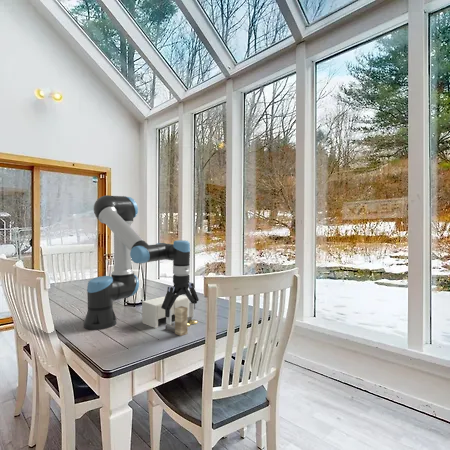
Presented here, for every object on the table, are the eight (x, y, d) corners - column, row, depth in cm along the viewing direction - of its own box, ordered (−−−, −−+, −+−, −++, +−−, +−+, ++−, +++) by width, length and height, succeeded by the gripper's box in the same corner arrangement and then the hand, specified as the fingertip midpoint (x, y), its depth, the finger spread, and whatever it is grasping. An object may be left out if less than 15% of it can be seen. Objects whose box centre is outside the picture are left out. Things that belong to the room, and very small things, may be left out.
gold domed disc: (193, 325, 159) (193, 323, 159) (187, 323, 161) (187, 321, 161) (199, 323, 162) (199, 320, 162) (192, 321, 165) (192, 319, 165)
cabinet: (155, 328, 154) (155, 305, 153) (142, 323, 161) (142, 301, 161) (189, 317, 170) (189, 297, 170) (176, 313, 178) (176, 293, 177)
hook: (180, 336, 144) (180, 309, 143) (163, 329, 152) (163, 304, 151) (207, 326, 157) (207, 302, 156) (190, 320, 165) (189, 297, 164)
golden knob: (186, 328, 155) (186, 325, 155) (179, 326, 157) (179, 323, 157) (192, 325, 158) (192, 323, 158) (185, 323, 161) (185, 321, 161)
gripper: (164, 279, 134) (163, 329, 135) (206, 272, 153) (205, 315, 153) (153, 276, 139) (153, 325, 140) (195, 269, 158) (194, 312, 158)
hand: (180, 320), depth 147 cm, fingers open, 13 cm apart
